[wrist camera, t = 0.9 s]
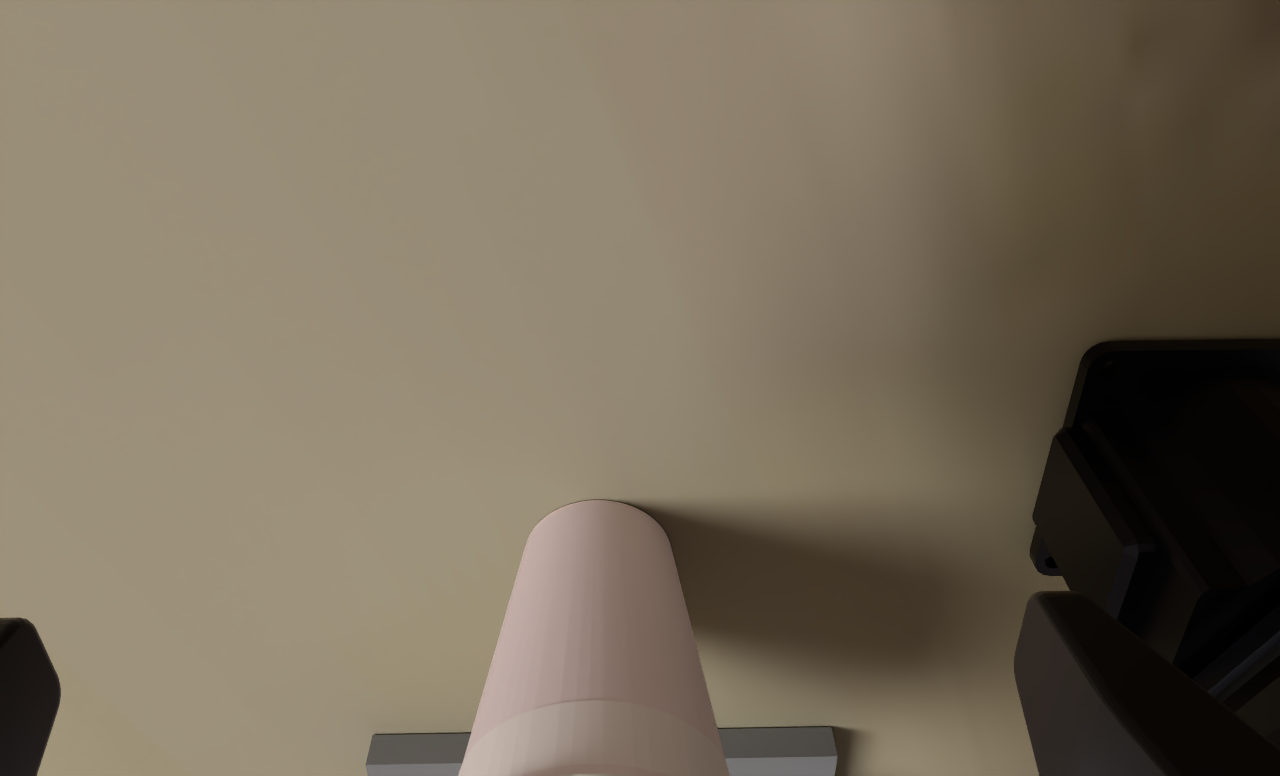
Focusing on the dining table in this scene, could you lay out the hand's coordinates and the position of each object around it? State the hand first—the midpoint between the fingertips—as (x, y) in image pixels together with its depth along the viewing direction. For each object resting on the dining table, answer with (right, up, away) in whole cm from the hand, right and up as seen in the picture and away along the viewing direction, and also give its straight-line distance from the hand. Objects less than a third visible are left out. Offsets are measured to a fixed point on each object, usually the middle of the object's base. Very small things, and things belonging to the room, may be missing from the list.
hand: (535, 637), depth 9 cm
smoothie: (0, -2, +17) cm, 17 cm away
